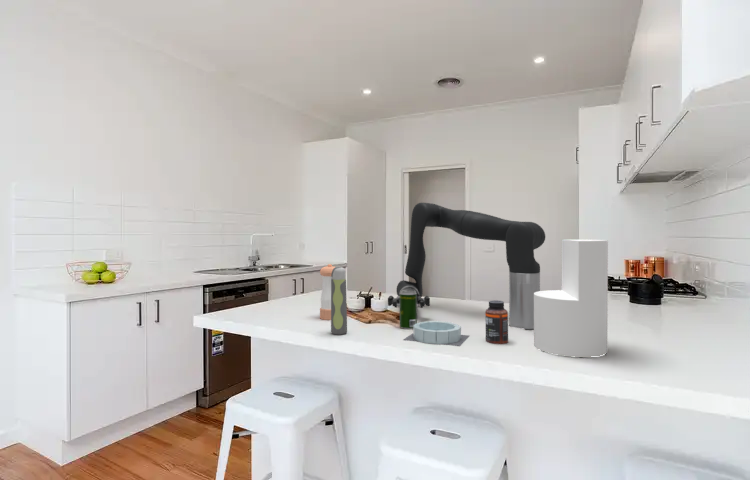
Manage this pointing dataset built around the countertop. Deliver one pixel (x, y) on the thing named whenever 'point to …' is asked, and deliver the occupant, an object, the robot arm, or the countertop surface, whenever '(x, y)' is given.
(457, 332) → the bowl
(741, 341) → the countertop surface
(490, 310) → the supplement bottle
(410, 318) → the beer can
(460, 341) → the mat
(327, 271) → the salt shaker
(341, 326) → the patterned grey bottle
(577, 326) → the white stepped cylinder
